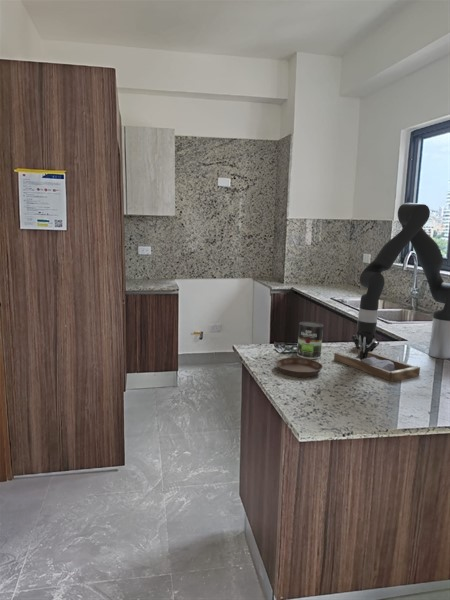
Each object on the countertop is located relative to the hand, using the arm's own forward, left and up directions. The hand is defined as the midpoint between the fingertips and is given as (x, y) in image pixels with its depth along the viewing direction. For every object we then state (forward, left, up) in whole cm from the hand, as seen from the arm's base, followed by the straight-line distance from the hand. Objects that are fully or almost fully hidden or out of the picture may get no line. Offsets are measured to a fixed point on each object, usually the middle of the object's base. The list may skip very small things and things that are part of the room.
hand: (363, 360), depth 190 cm
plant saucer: (+32, -4, -2) cm, 32 cm away
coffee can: (+14, -18, -1) cm, 23 cm away
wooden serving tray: (0, +5, -1) cm, 6 cm away
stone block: (+2, +8, -2) cm, 8 cm away
